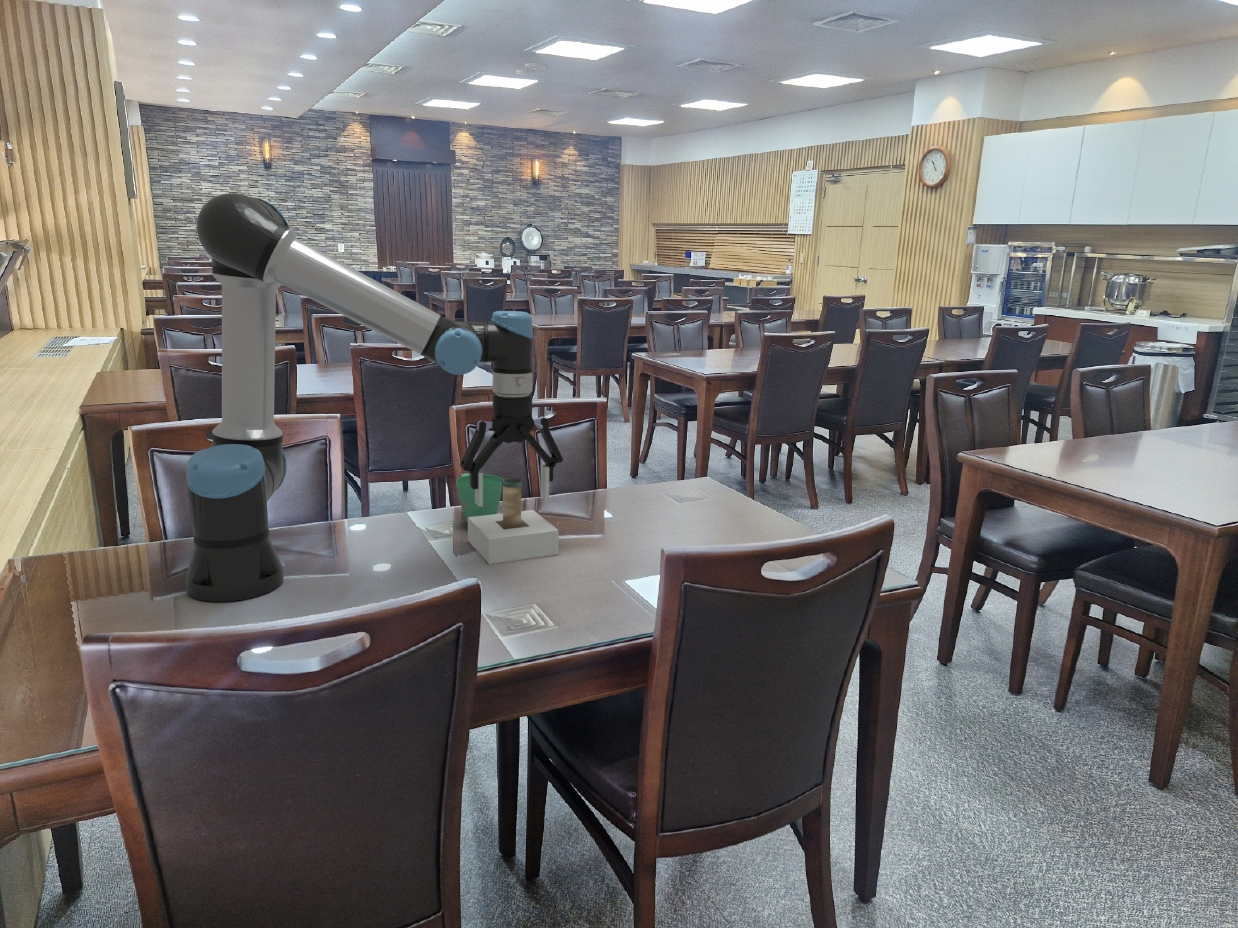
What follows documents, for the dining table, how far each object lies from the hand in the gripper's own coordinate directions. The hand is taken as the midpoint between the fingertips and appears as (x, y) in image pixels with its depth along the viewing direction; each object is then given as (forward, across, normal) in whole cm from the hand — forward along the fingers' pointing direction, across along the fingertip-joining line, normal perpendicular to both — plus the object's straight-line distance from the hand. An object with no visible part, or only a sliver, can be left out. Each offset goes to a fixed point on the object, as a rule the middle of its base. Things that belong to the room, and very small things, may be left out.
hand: (512, 501), depth 159 cm
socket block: (+10, 0, 0) cm, 10 cm away
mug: (+10, -2, +18) cm, 21 cm away
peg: (+10, 0, 0) cm, 10 cm away
